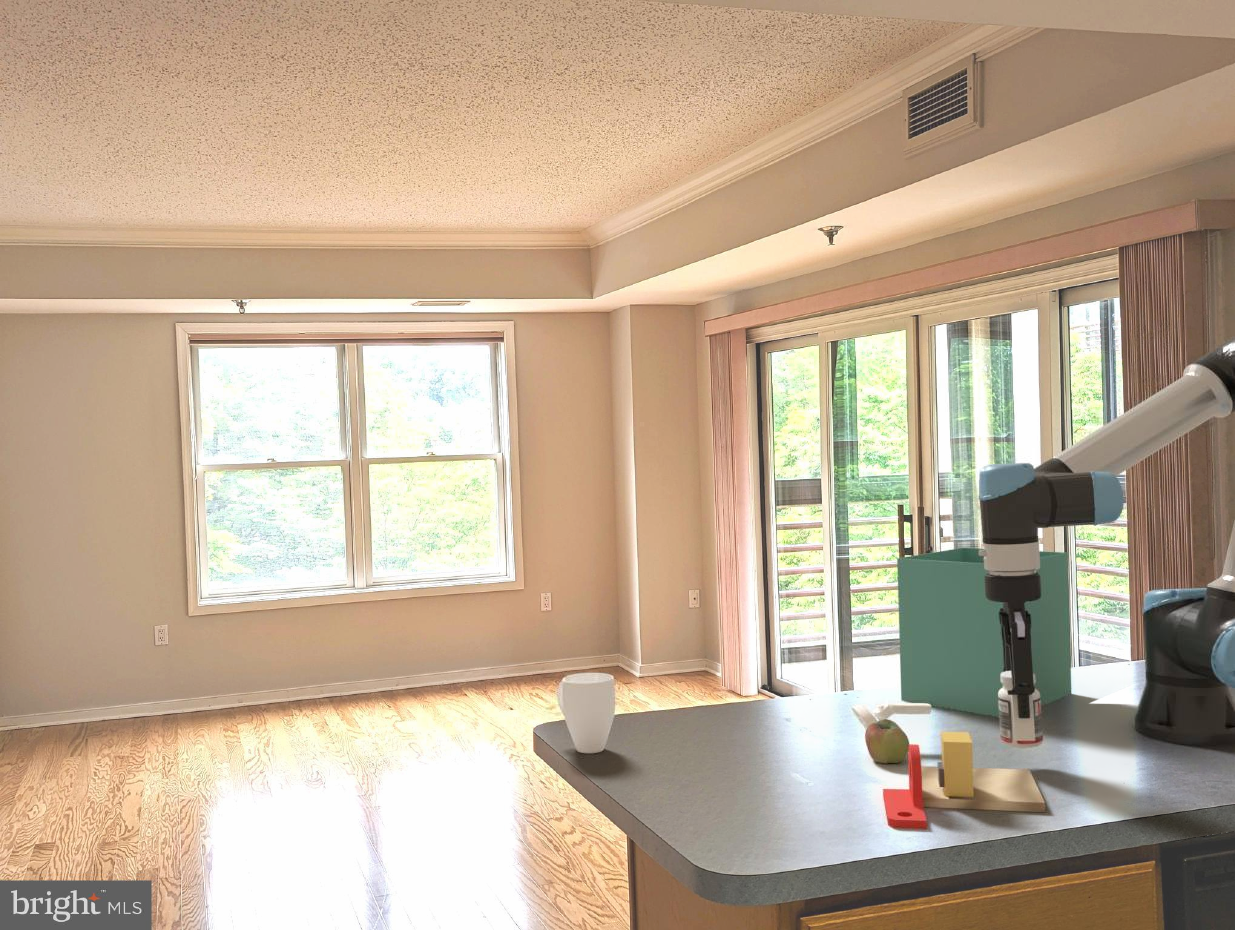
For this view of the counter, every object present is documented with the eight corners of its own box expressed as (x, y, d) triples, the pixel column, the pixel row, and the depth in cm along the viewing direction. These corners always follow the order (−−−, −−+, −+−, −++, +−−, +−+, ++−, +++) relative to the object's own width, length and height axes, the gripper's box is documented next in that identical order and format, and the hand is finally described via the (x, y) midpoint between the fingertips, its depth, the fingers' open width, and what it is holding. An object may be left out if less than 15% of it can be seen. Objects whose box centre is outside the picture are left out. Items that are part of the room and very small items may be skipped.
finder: (968, 732, 142) (936, 731, 143) (972, 742, 137) (938, 741, 138) (969, 784, 142) (937, 783, 143) (973, 797, 138) (940, 795, 138)
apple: (877, 750, 164) (876, 712, 164) (919, 762, 158) (918, 722, 158) (850, 758, 161) (849, 719, 161) (892, 770, 154) (891, 729, 154)
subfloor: (1029, 778, 148) (1029, 769, 148) (1045, 812, 135) (1044, 802, 135) (916, 774, 152) (916, 765, 152) (921, 806, 138) (920, 797, 138)
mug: (627, 749, 169) (625, 677, 169) (584, 760, 164) (582, 685, 164) (582, 735, 178) (580, 666, 178) (540, 745, 173) (538, 674, 173)
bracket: (883, 797, 143) (881, 737, 143) (918, 798, 142) (916, 738, 142) (888, 828, 131) (886, 764, 131) (926, 830, 130) (924, 765, 130)
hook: (935, 756, 160) (933, 709, 160) (852, 754, 163) (851, 708, 162) (930, 742, 168) (929, 697, 167) (852, 740, 170) (850, 696, 170)
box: (967, 680, 211) (963, 547, 210) (1071, 695, 195) (1067, 552, 195) (901, 701, 195) (897, 558, 195) (1009, 720, 180) (1004, 564, 179)
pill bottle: (1047, 740, 154) (1043, 671, 154) (1038, 750, 149) (1034, 679, 149) (1006, 735, 157) (1002, 668, 157) (995, 746, 153) (992, 676, 152)
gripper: (978, 565, 163) (987, 717, 163) (991, 581, 145) (1001, 752, 145) (1030, 563, 161) (1039, 716, 162) (1050, 579, 143) (1060, 752, 143)
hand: (1021, 733), depth 153 cm, fingers closed on pill bottle, 6 cm apart
